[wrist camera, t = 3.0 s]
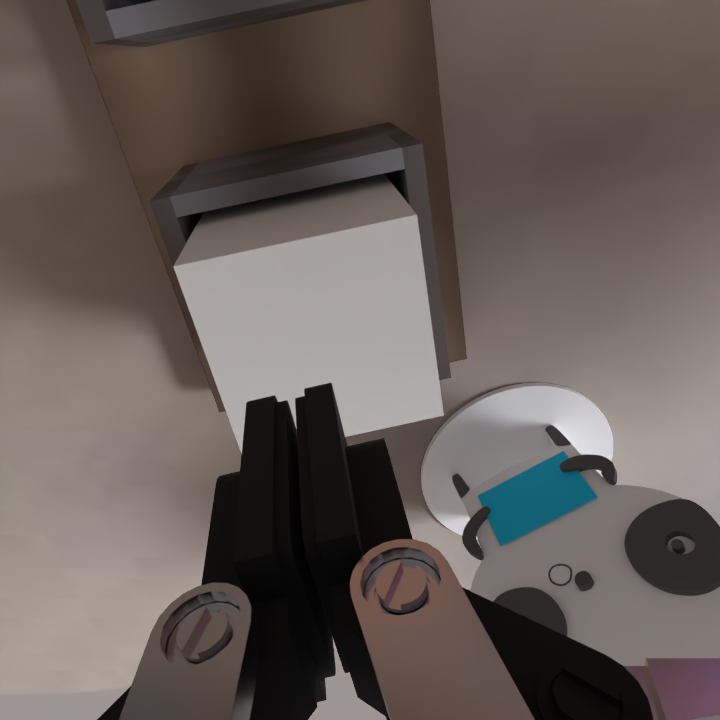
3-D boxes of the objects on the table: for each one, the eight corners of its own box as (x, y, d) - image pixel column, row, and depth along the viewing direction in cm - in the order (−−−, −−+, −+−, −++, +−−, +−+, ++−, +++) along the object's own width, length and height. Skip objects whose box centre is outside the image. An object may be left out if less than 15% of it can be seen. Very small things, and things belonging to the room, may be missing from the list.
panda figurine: (584, 340, 29) (822, 569, 16) (643, 478, 35) (859, 737, 21) (385, 446, 31) (455, 729, 18) (469, 562, 36) (570, 847, 23)
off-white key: (381, 170, 19) (417, 214, 14) (406, 328, 22) (443, 415, 16) (205, 208, 19) (173, 266, 14) (254, 361, 22) (243, 459, 16)
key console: (365, -463, 16) (425, -868, 9) (455, 340, 29) (510, 432, 22) (-52, -378, 16) (-322, -721, 9) (223, 390, 28) (202, 499, 21)
